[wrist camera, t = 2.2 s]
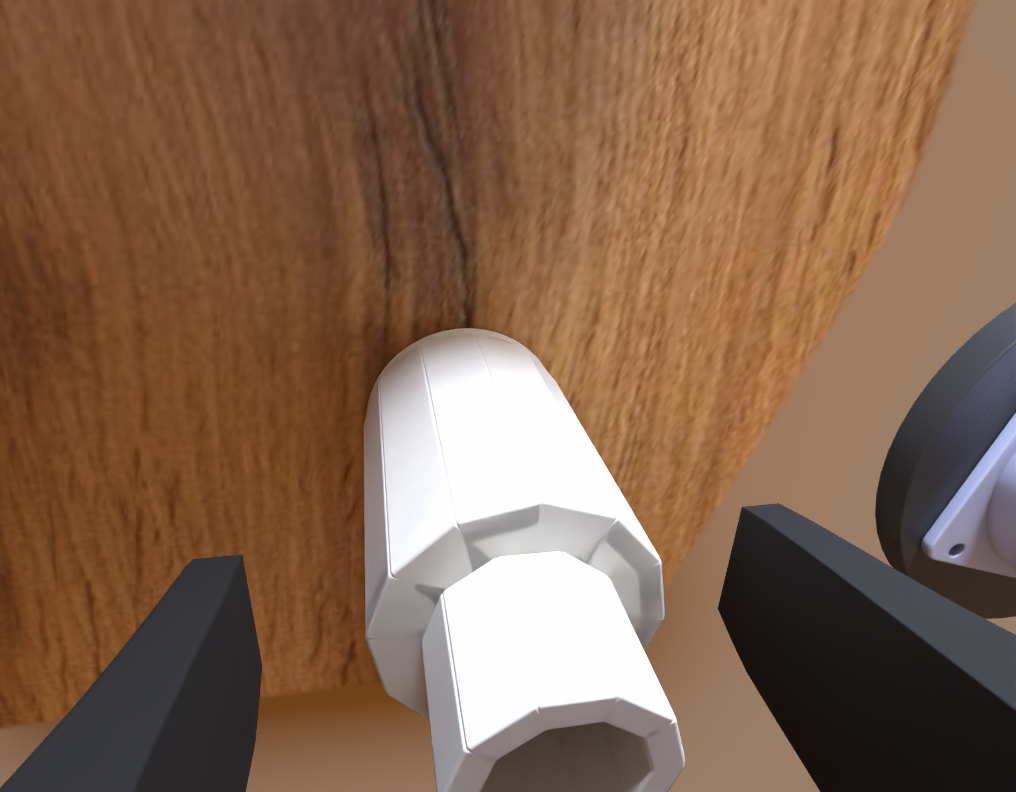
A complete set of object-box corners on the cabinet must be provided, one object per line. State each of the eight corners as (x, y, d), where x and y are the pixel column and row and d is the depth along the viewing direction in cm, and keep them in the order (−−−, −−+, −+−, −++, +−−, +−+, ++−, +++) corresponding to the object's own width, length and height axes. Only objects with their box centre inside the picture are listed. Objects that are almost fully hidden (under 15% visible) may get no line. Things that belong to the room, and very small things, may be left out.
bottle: (583, 356, 14) (811, 670, 7) (515, 508, 16) (647, 897, 8) (399, 302, 13) (447, 621, 6) (344, 474, 14) (328, 898, 7)
